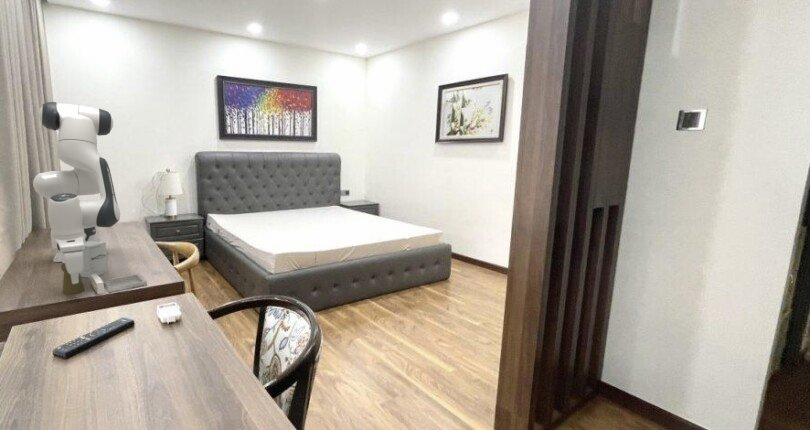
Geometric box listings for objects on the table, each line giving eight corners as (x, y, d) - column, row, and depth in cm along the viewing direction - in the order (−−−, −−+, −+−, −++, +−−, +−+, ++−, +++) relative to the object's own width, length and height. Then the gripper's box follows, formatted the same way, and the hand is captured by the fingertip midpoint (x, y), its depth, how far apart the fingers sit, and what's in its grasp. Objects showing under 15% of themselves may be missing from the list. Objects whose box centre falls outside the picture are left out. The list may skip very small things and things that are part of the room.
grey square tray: (102, 284, 147) (102, 279, 147) (139, 277, 155) (138, 273, 155) (109, 292, 139) (109, 288, 139) (147, 285, 147) (146, 281, 147)
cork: (58, 295, 135) (54, 264, 133) (68, 289, 141) (64, 259, 139) (79, 294, 137) (76, 263, 135) (88, 288, 143) (85, 258, 141)
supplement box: (91, 278, 153) (88, 246, 150) (76, 276, 154) (72, 244, 152) (109, 272, 160) (106, 242, 157) (94, 270, 161) (91, 240, 159)
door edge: (90, 285, 145) (88, 274, 145) (97, 283, 147) (96, 273, 146) (96, 294, 137) (95, 283, 136) (104, 293, 139) (103, 282, 138)
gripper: (52, 237, 141) (57, 274, 143) (60, 248, 127) (65, 289, 129) (75, 234, 145) (79, 270, 147) (85, 245, 131) (89, 285, 134)
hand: (73, 279), depth 138 cm, fingers open, 8 cm apart
